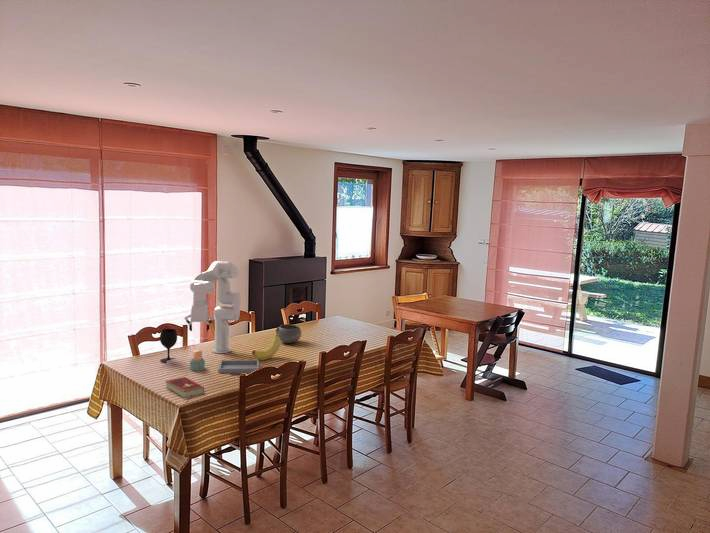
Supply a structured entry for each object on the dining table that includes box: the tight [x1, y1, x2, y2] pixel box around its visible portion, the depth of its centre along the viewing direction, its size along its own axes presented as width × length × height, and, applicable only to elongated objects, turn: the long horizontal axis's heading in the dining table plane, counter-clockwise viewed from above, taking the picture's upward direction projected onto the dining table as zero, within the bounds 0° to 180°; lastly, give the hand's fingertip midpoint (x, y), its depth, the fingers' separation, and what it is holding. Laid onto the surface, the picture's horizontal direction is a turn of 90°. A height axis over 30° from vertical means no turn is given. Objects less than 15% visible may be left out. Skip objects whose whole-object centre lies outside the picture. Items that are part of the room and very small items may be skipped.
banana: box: [251, 327, 281, 361], centre depth 358 cm, size 23×6×20 cm, turn 138°
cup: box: [189, 357, 206, 372], centre depth 328 cm, size 8×8×6 cm
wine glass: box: [159, 328, 178, 364], centre depth 343 cm, size 10×10×20 cm
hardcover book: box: [164, 376, 205, 398], centre depth 294 cm, size 12×21×4 cm, turn 45°
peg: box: [192, 349, 203, 361], centre depth 328 cm, size 5×5×11 cm
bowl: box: [278, 323, 302, 344], centre depth 402 cm, size 18×18×13 cm
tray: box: [218, 359, 260, 375], centre depth 333 cm, size 18×24×4 cm
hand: (199, 330), depth 325 cm, fingers open, 9 cm apart
